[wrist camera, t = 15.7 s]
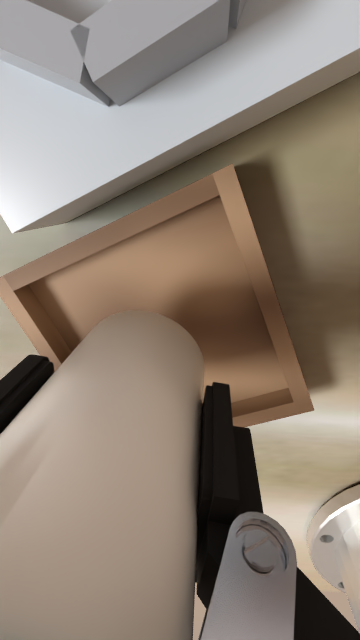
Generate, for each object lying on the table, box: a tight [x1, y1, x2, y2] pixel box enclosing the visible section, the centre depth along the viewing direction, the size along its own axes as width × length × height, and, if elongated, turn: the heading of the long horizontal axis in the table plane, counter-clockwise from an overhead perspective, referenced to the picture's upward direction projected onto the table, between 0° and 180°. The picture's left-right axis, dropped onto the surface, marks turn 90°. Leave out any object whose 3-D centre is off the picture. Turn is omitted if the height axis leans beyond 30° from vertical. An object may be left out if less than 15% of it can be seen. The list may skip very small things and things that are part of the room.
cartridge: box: [0, 310, 205, 640], centre depth 7 cm, size 6×6×11 cm
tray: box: [0, 164, 314, 427], centre depth 15 cm, size 12×12×2 cm
